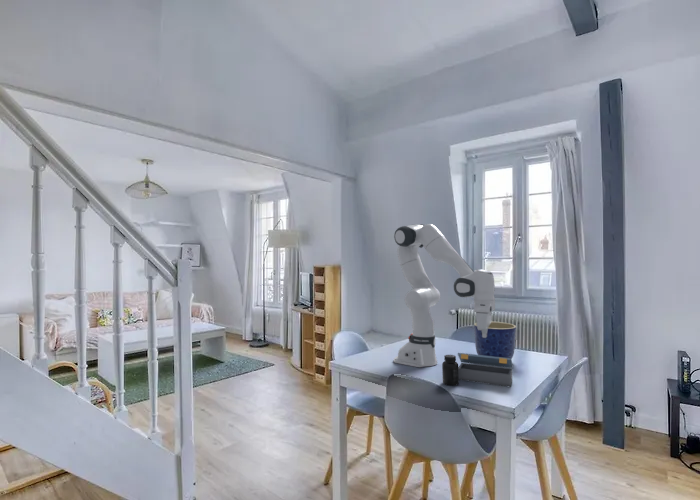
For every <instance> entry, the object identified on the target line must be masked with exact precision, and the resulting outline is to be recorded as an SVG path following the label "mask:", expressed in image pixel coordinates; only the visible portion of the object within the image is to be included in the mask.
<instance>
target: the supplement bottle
mask: <svg viewBox="0 0 700 500" xmlns="http://www.w3.org/2000/svg"><path fill="white" fill-rule="evenodd" d="M441 365H442V366H441V367H442V372H441V373H442V376H441V377H442V384H443V385H445V386H449V387H451V386H452V387H455V386H458V385H459V383H460V380H459V372H458V367H459V363H458V362H457V358H456V355H455V354H445V355H444V361H443V362H442V364H441Z"/></svg>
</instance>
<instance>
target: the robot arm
mask: <svg viewBox="0 0 700 500" xmlns="http://www.w3.org/2000/svg"><path fill="white" fill-rule="evenodd" d="M393 234H394V235H393V238H394V241H395V243H396V245H397V246H398V247H397V251H396V252H397V257H398V262H399V265H400V268H401V271H402V274H403V276H404V279H405V281H406V282H407V283H408V284H409V285H410V286H411V287H412V289H410V290H409V291H408V292H406V294H405V296H404V304H405V305H406V306H407V308H408V309H409V312H410V316H411V321H412V325H411V326H412V332H411V334H409V336H408V342H406V343H405V344H404V345H403V346H401V347H400V348H399V350H398V353H397V356H395V357H394V358H393V363H395V364H399V365H405V366H409V367H410V366H411V367H415V368H423V367H432V366H435V365H438V360H437V359H438V358H437V355H436V336H435V320H434V318H433V317H432V314H431V310H430V308H431V307H434V306H436V305H437V304H438V303H439V302H440V300H441V292H440V290H439V289H437V287H435V286H434V284H433V283H432V281H431V280H430V278H429V276H428V275H427V272H426V269H425V268H424V265H423V263H422V260H421V256H420V254H419V248H420V249H422V248H423V247H424V249H425V251H426V252H427V254H428V255H429V256H430V257H431V258H432V259H433V260H435V261H436V262H440V263H444V264H446V265H449V266H451V267H452V268H453V269H454V270H455V271H456V273H458V275H459V276H460V277H458V278H456V279H455V280H454V282H453V291H454V293H455V294H456V296H458V297H460V298H463V299H464V298H472V297H473V310H474V313H475V321H476V322H475V323H477V329H478V330H482V337H483V338H486V337H487V331H488V327H489V325H490V324H491V322H492V315H493V312H495V311H496V297H495V296H494V295H495V288H496V287H495V277H494V274H493V272H491V271H490V270H486V269H475V270H473V269H472V267H471V266H470V265H469V264H468V262H466V260H465V259H464V258H463V257H462V255H460V254H459V253H458V251H456V250H455V248H454V247H453V246H452V244H451V243H450V242H449V241H448V240H447V238H446V237H445V235H444V234H443V233H442V232H441V230H440V229H438V228H437V226H435V225H434V224H432V223H426V224H410V225H402V226H400V227H398V228H396V230H395V232H394V233H393Z"/></svg>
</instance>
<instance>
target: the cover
mask: <svg viewBox="0 0 700 500" xmlns="http://www.w3.org/2000/svg"><path fill="white" fill-rule="evenodd" d="M457 356H458V358H459V361H460V363H468V364H476V365H485V366H493V367H502V368H510V369H513V368H514V367H513V366H514V365H513V361H512V360H513V358H512V359H511V358H503V357H493V356H484V355H478V354H474V353H473V354H472V353H466V352H465V353H464V352H458V353H457Z"/></svg>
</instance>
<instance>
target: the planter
mask: <svg viewBox="0 0 700 500" xmlns="http://www.w3.org/2000/svg"><path fill="white" fill-rule="evenodd" d="M473 329H474V331H473V332H474V344H475V351H476V355H484V356H493V357H503V358H511V359H512V360H513V357H514V355H515V348H516V334H517V332H516V331H517V325H516V324H513V323H509V322H503V321H502V322H501V321H491V324H490V325H489V327H488V331H487V337H486V338H483V337H482V330H478V329H477V322H474V324H473Z"/></svg>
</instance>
